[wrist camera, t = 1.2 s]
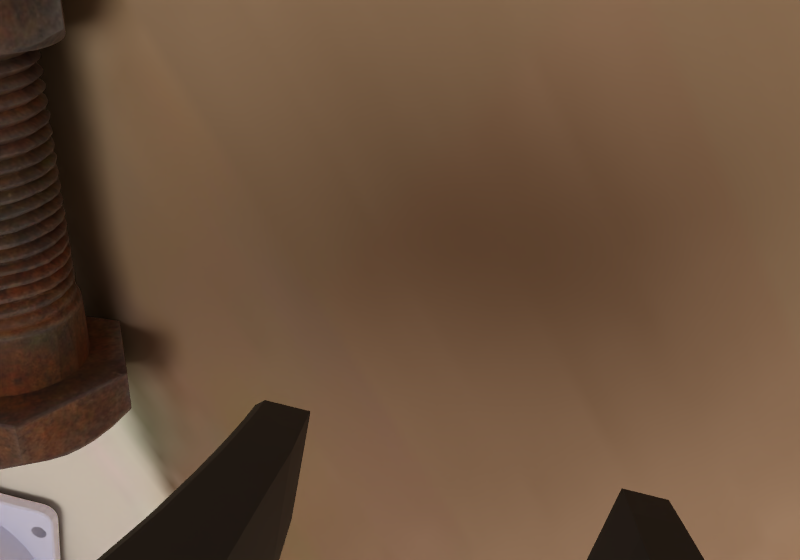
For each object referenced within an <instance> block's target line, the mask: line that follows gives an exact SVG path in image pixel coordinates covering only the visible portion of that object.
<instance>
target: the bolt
mask: <svg viewBox="0 0 800 560" xmlns="http://www.w3.org/2000/svg"><path fill="white" fill-rule="evenodd" d="M65 35H66V32H65V21H64V14H63V6H62V0H0V469H5V468H10V467H16V466H21V465H26V464H32V463H37V462H42V461H47V460H51V459H55V458H58V457H61V456H65V455H68V454H70V453H72V452H74V451H76V450H78V449H80V448H82V447H84V446H86V445H87V444H89V443H91V442H92V441H94V440H95V439H97V438H98V437H99V436H101V435H102V434H103V433H105V432H106V431H107V430H108V429H110V428H111V427H112V426H113V425H114V424H115V423H116V422H118V421H119V420H120V419H121V418H122V417H123V416H124V415H125V414H126V413H127V412H128V411H129V410H130V409H131V400H130V392H129V384H128V376H127V369H126V362H125V355H124V348H123V341H122V334H121V327H120V322H119V321H116V320H110V319H102V318H95V317H88V316H85V311H84V305H83V299H82V294H81V290H80V289H79V287H78V286H77V285H76V283H75V279H74V275H75V271H74V268H73V260H72V257H71V245H70V244H69V236H68V232H67V229H66V228H67V222H66V219H65V218H64V217H65V211H64V207H63V206H62V203H63V197H62V194H61V193H60V189H61V183H60V181H59V178H58V175H59V170H58V167H57V165H56V160H57V155H56V154H55V152H54V151H53V149H54V146H55V143H54V141H53V138H52V137H50V136H51V135H52V134H53V131H52V128H51V125H50V123H49V118H50V112H49V111H48V110H47V109H46V106H47V103H48V99H47V97H46V95H45V94H43V93H42V92H43V91H44V90H45V88H46V84H45V82H44V81H43V80H42V79H40V78H39V77H40V76H41V75H42V74H43V71H44V70H43V67H41V66H40V65H39V64H38V63H36V62H37V61H38V60H39V59H40V57H41V53H40V52H39V51H38V49H42V48H45V47H49V46H51V45H54V44H56V43H58V42H60V41H61V40H62V39H63V38H64V37H65Z"/></svg>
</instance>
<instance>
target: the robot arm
mask: <svg viewBox="0 0 800 560" xmlns="http://www.w3.org/2000/svg"><path fill="white" fill-rule="evenodd" d="M309 416H310V411H306V410H302V409H298V408H294V407H290V406H286V405H282V404H278V403H274V402H270V401H266V400H265V401H263V402H261V403H259V404H257V405H255V406H254V408H253V409H252V410H251V411H250V413H249V414H248V415H247V416H246V417H245V419H244V420H243V421H242V422H241V423H240V424H239V426H238V427H237V428H236V429H235V430H234V431H233V432H232V433H231V435H230V436H229V437H228V438H227V439H226V440H225V441H224V442H223V443H222V444H221V445H220V446H219V448H218V449H217V450H216V451H215V452H214V453H213V454H212V455H211V456H210V457H209V458H208V459H207V460H206V461H205V462H204V463H203V464H202V465H201V466H200V467H199V468H198V469H197V470H196V471H195V472H194V473H193V474H192V475H191V476H190V477H189V478H188V479H187V480H186V481H185V482H184V483H182V484H181V485H180V486H179V487H178V488H177V489H176V490H175V491H174V492H173V493H172V494H171V495H170V496H169V497H168V498H167V499H166V500H165V501H164V502H163V503H162V504H160V505H159V506H158V507H157V508H156V509H155V510H154V511H153V512H152V513H151V514H150V515H149V516H147V517H146V518H145V519H144V520H143V521H142V522H141V523H139V524H138V525H137V526H136V527H135V528H134V529H132V530H131V531H130V532H129V533H128V534H127V535H125V536H124V537H123V538H122V539H121V540H120V541H118V542H117V543H116V544H115V545H114V546H113V547H111V548H110V549H109V550H108V551H107V552H106V553H104V554H103V555H102V556H101V557H100V558H99V559H97V560H279V558H280V555H281V551H282V548H283V545H284V542H285V538H286V535H287V532H288V529H289V525H290V522H291V519H292V513H293V507H294V502H295V496H296V490H297V485H298V479H299V473H300V468H301V462H302V456H303V450H304V445H305V439H306V433H307V428H308V422H309ZM0 560H60V544H59V527H58V516H57V513H56V512H55V511H54V509H52V508H51V507H50V506H47V505H45V504H41V503H37V502H33V501H30V500H26V499H22V498H18V497H14V496H10V495H6V494H2V493H0ZM587 560H704V558H703V557H702V555H701V553H700V552H699V550H698V548H697V547H696V545H695V543H694V541H693V540H692V538H691V536H690V535H689V533H688V531H687V530H686V528H685V526H684V525H683V523H682V521H681V520H680V518H679V516H678V515H677V513H676V511H675V510H674V508H673V507H672V505H671V503H670V502H669V500H666V499H662V498H658V497H654V496H650V495H646V494H642V493H638V492H634V491H630V490H626V489H621V491H620V493H619V495H618V497H617V499H616V501H615V503H614V505H613V508H612V510H611V512H610V514H609V516H608V518H607V520H606V522H605V524H604V526H603V528H602V530H601V532H600V534H599V536H598V538H597V540H596V542H595V544H594V546H593V548H592V550H591V552H590V554H589V556H588V559H587Z"/></svg>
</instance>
